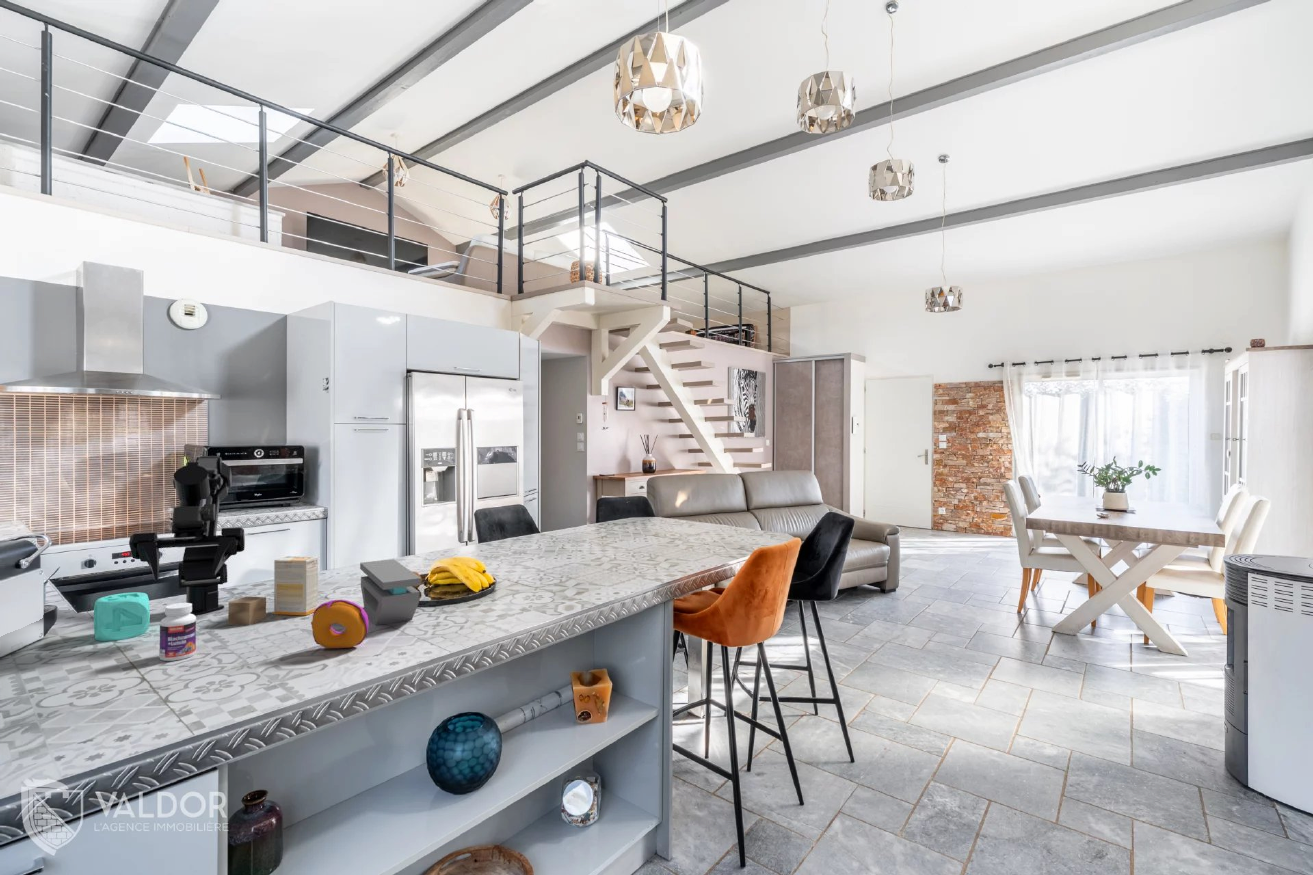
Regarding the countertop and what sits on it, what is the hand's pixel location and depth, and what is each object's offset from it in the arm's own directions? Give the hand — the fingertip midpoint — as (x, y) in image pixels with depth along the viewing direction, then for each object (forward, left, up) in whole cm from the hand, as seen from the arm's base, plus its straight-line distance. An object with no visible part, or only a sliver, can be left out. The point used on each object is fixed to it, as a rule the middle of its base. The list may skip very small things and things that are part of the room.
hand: (185, 576), depth 120 cm
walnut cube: (-3, +15, -14) cm, 21 cm away
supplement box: (+1, +24, -14) cm, 28 cm away
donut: (+31, +9, -14) cm, 35 cm away
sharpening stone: (+23, +30, -14) cm, 40 cm away
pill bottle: (+6, -5, -14) cm, 16 cm away
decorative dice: (-18, -1, -14) cm, 23 cm away
